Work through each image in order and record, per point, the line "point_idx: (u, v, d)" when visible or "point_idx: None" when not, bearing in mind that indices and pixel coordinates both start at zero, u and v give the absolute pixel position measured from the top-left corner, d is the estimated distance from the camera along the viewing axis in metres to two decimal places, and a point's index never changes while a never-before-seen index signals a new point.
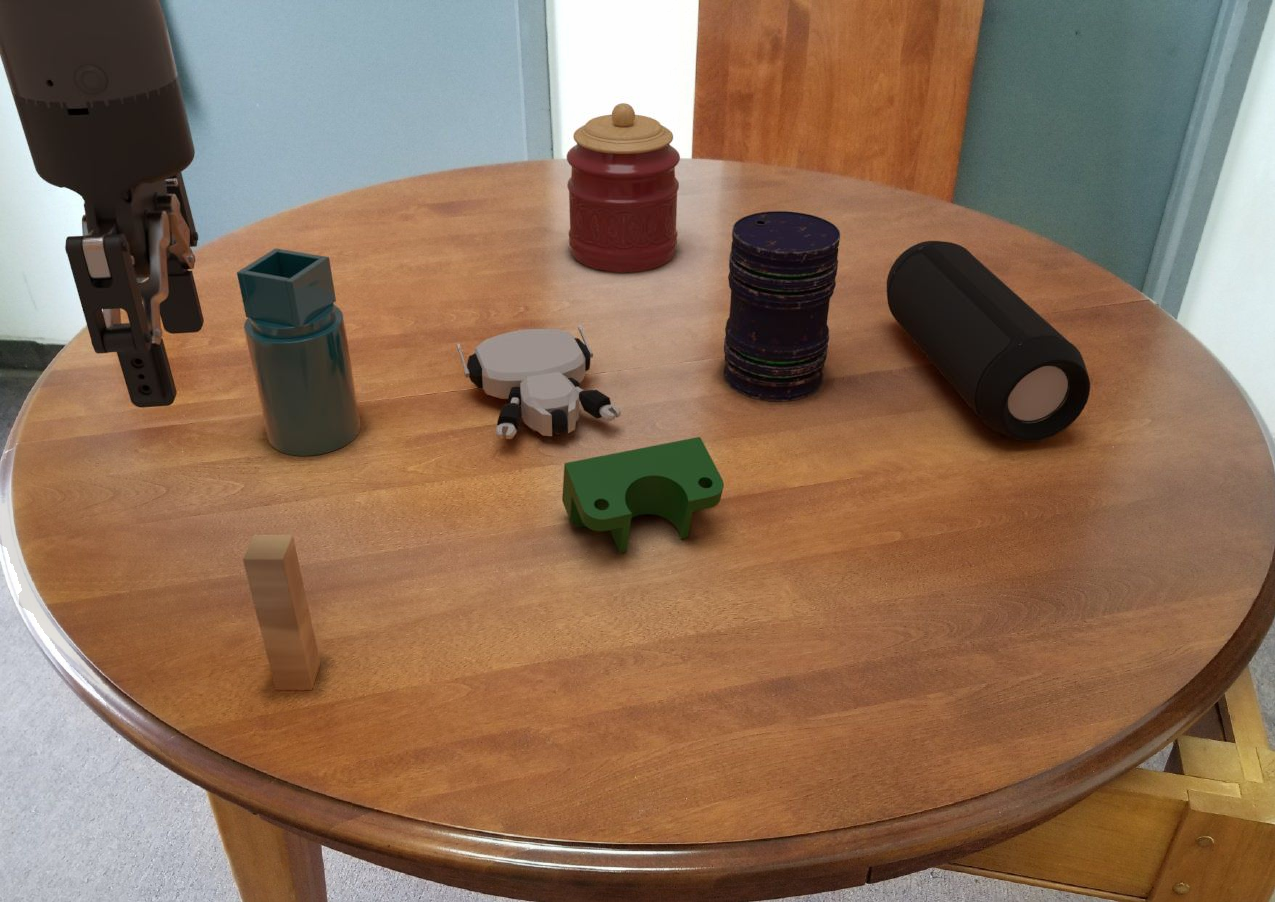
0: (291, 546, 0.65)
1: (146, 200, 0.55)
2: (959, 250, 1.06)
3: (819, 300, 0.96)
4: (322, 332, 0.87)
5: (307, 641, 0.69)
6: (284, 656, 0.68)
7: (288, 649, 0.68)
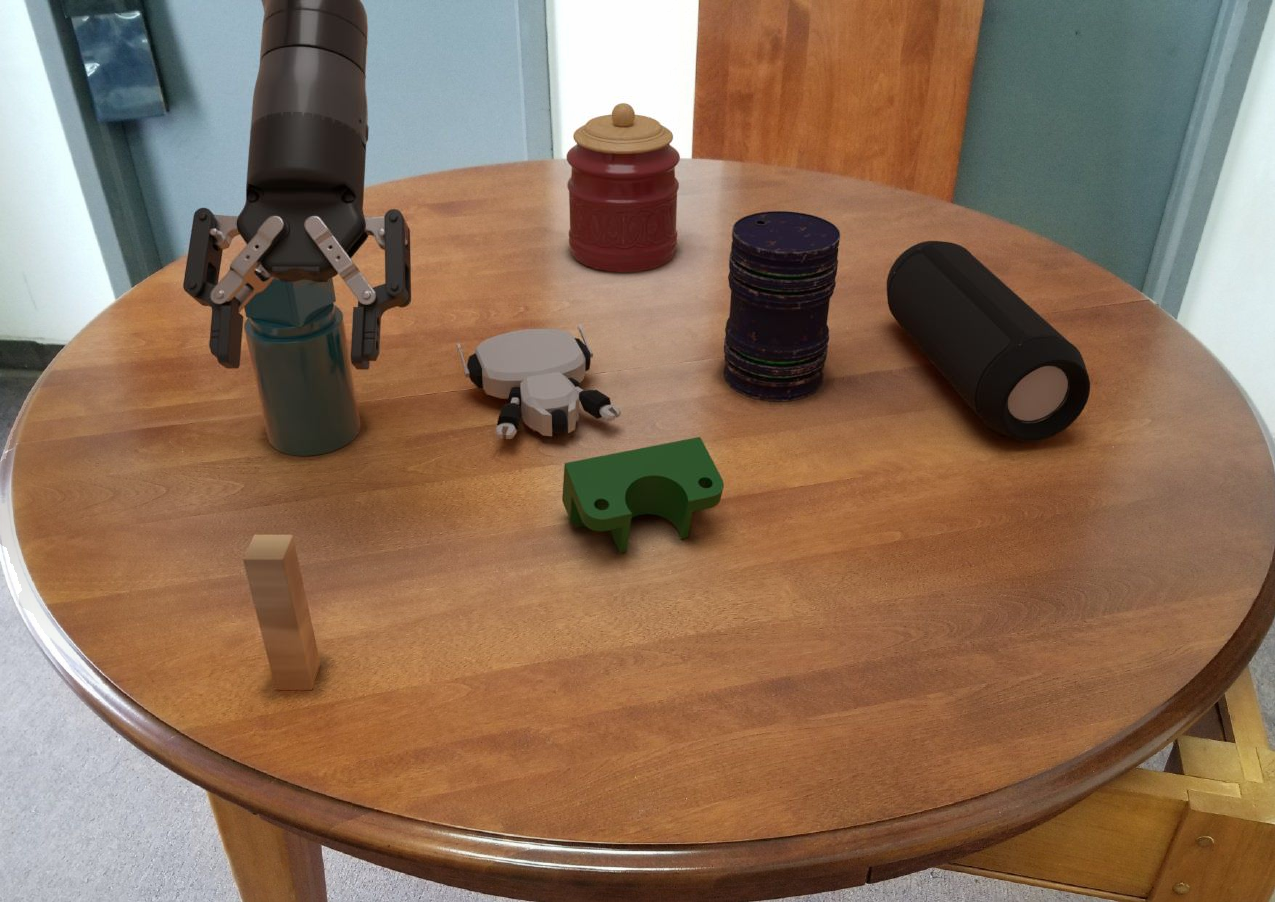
0: (291, 546, 0.65)
1: None
2: (959, 250, 1.06)
3: (819, 300, 0.96)
4: (322, 332, 0.87)
5: (307, 641, 0.69)
6: (284, 656, 0.68)
7: (288, 649, 0.68)
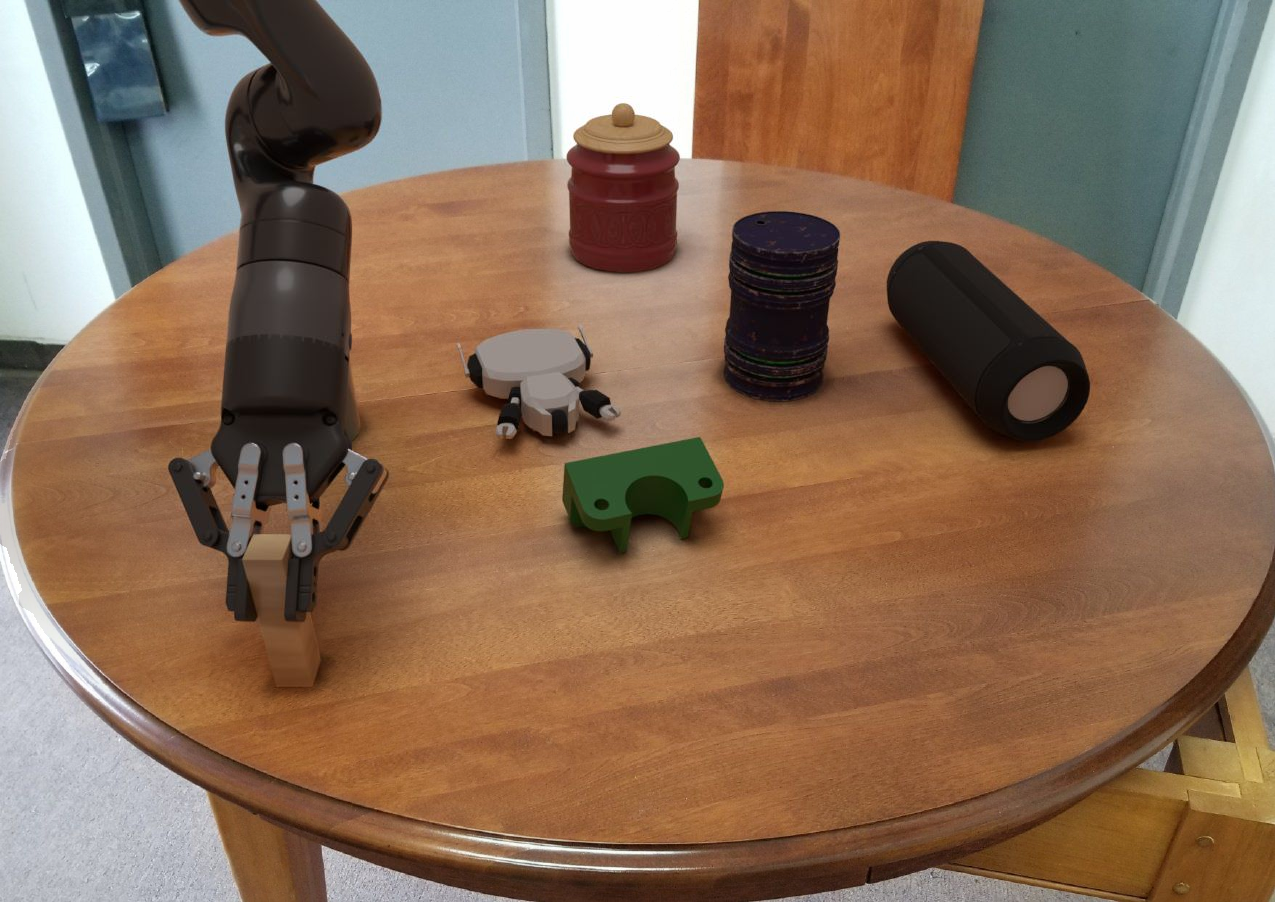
0: (290, 545, 0.65)
1: None
2: (959, 250, 1.06)
3: (819, 300, 0.96)
4: None
5: (307, 639, 0.69)
6: (284, 654, 0.68)
7: (289, 647, 0.68)
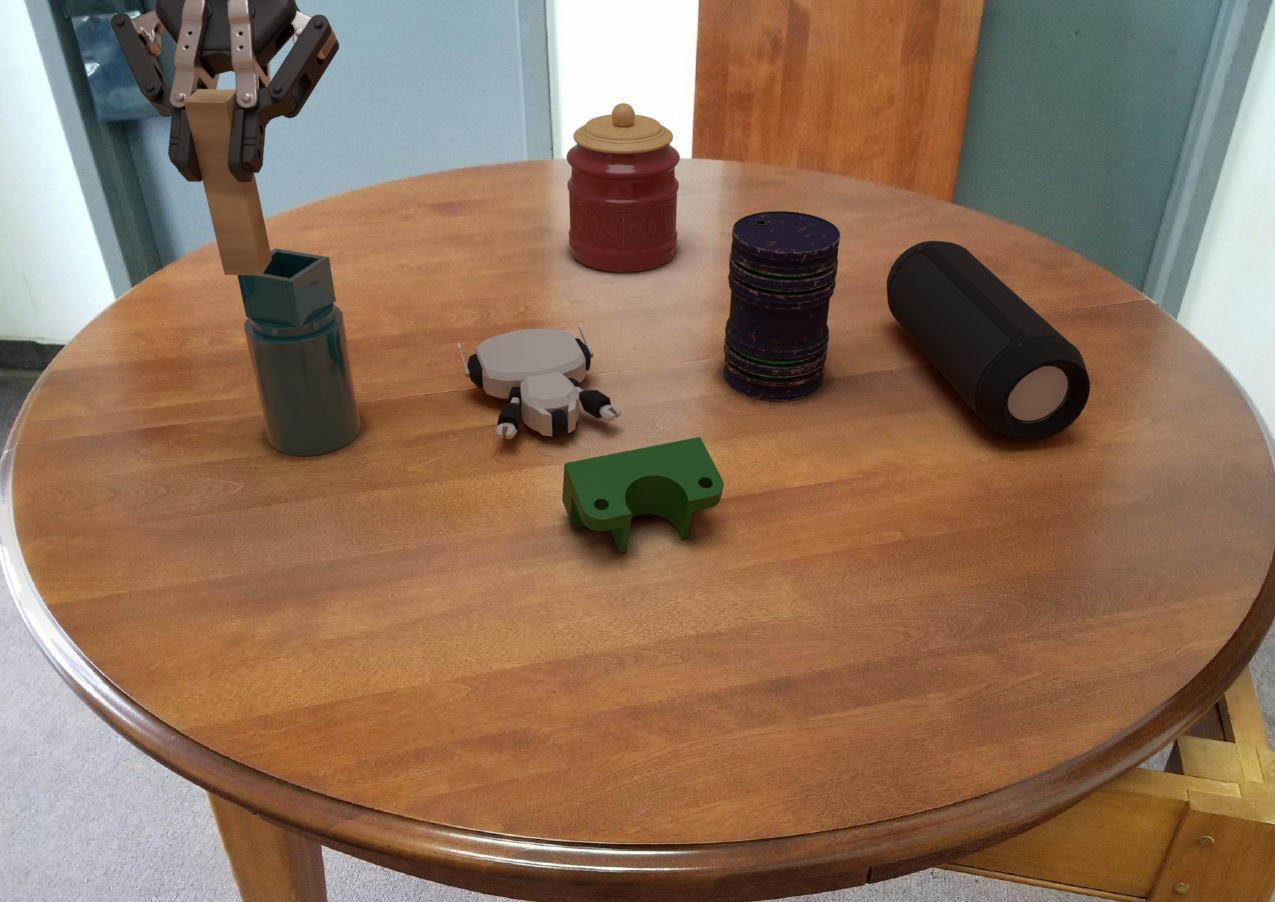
0: (235, 99, 0.63)
1: None
2: (959, 250, 1.06)
3: (819, 300, 0.96)
4: (322, 332, 0.87)
5: (255, 218, 0.67)
6: (231, 230, 0.66)
7: (236, 221, 0.66)
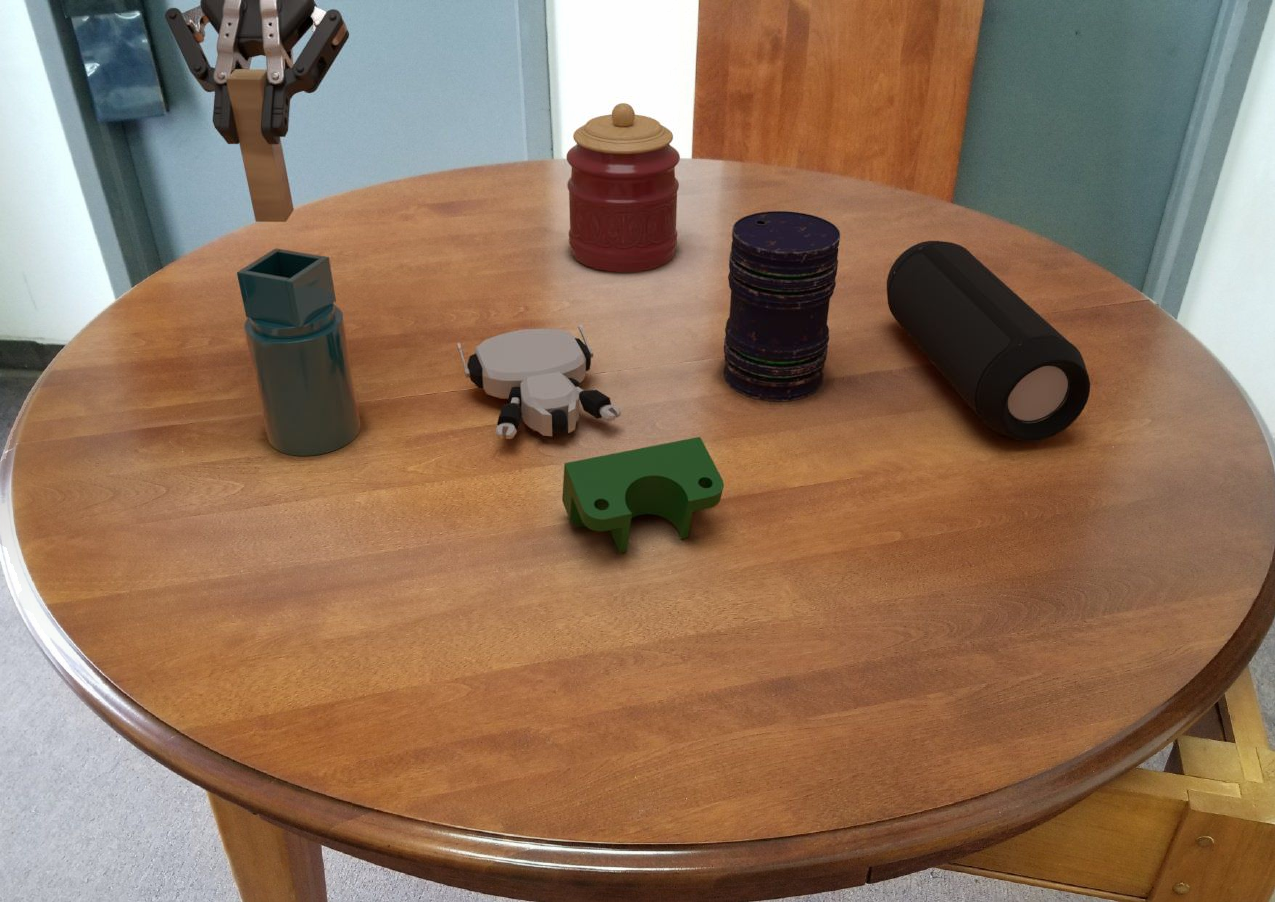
0: (266, 77, 0.79)
1: None
2: (959, 250, 1.06)
3: (819, 300, 0.96)
4: (322, 332, 0.87)
5: (281, 175, 0.82)
6: (262, 184, 0.82)
7: (265, 177, 0.81)
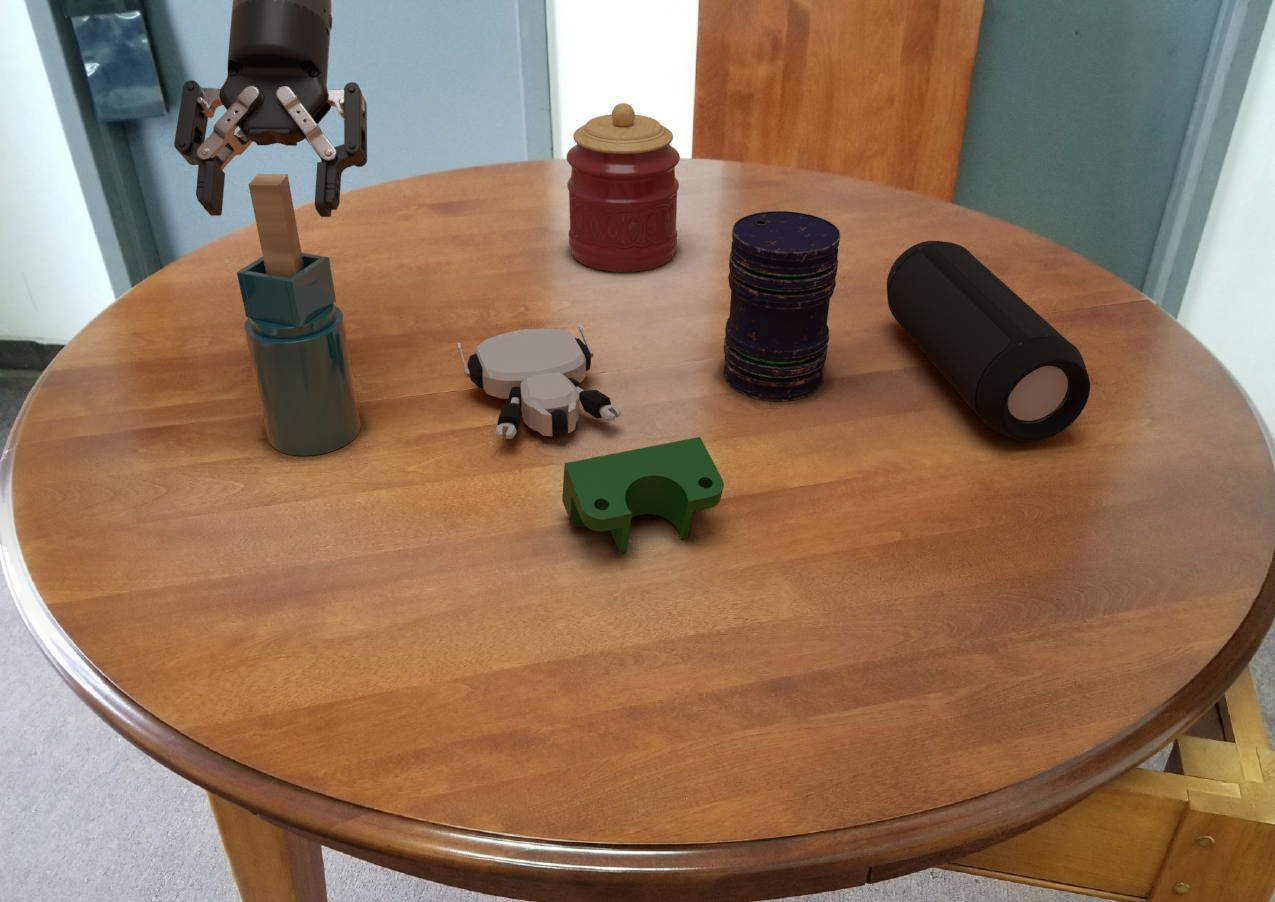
0: (286, 181, 0.84)
1: None
2: (959, 250, 1.06)
3: (819, 300, 0.96)
4: (322, 332, 0.87)
5: (299, 270, 0.87)
6: None
7: (284, 273, 0.86)
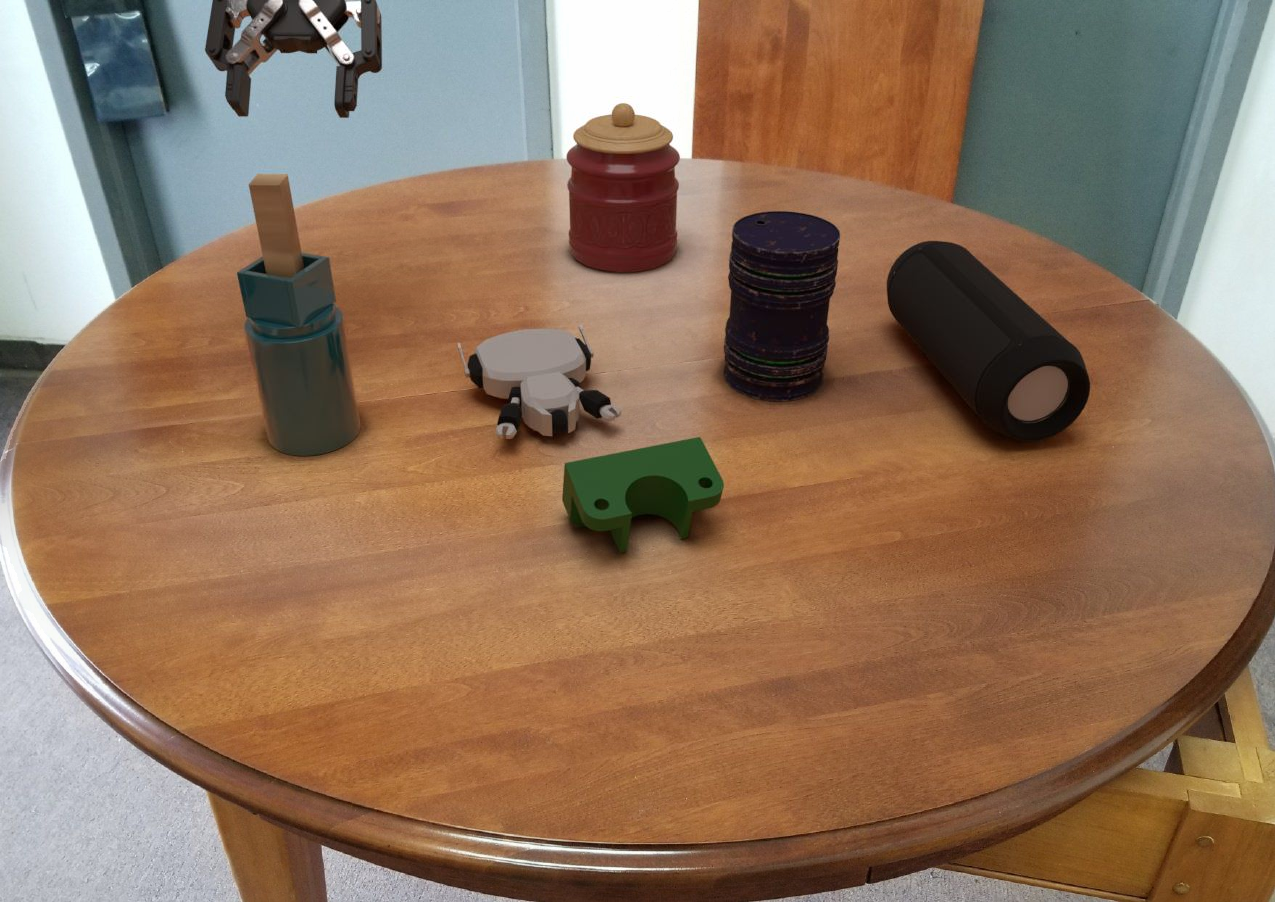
0: (286, 181, 0.84)
1: None
2: (959, 250, 1.06)
3: (819, 300, 0.96)
4: (322, 332, 0.87)
5: (299, 270, 0.87)
6: None
7: (284, 273, 0.86)
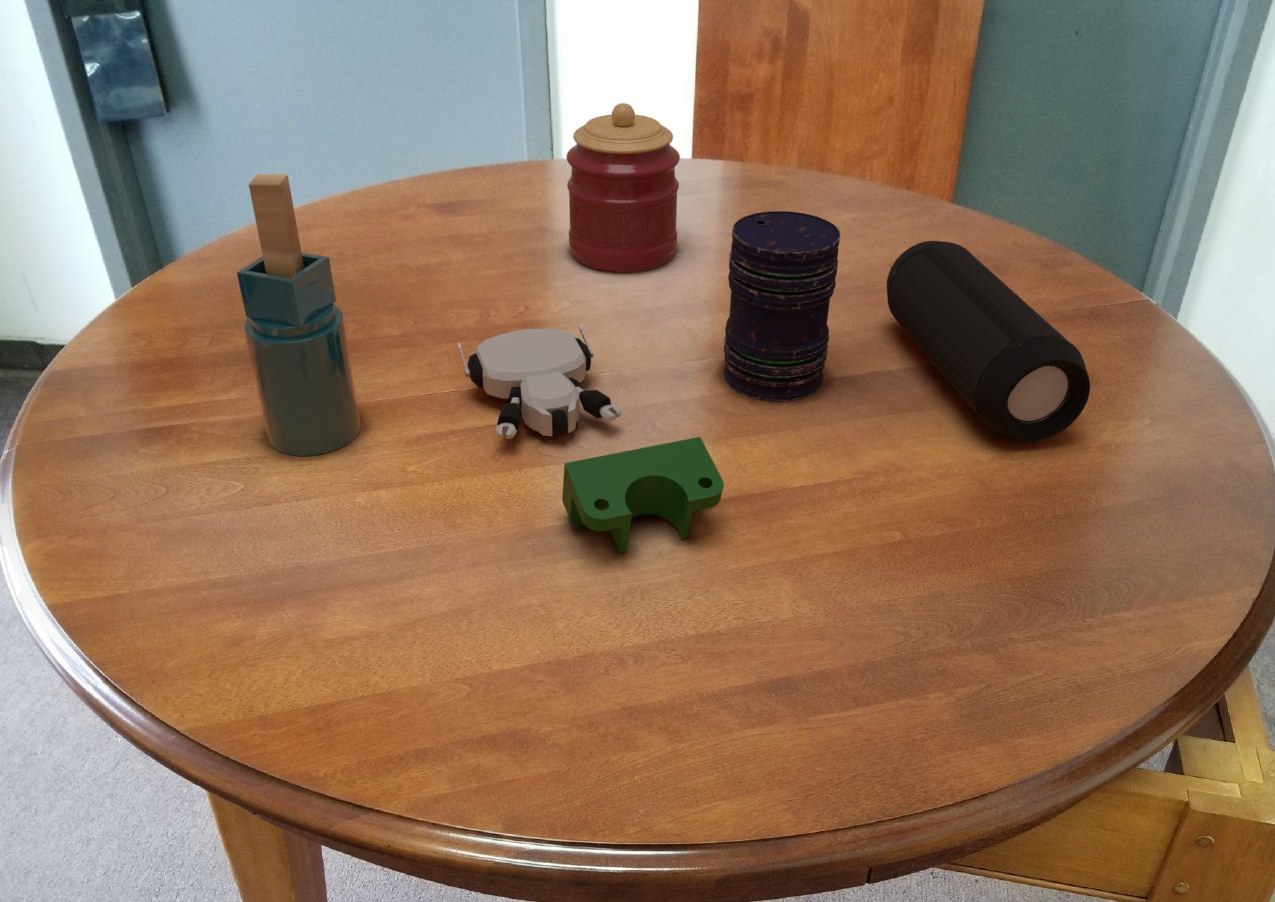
0: (286, 181, 0.84)
1: None
2: (959, 250, 1.06)
3: (819, 300, 0.96)
4: (322, 332, 0.87)
5: (299, 270, 0.87)
6: None
7: (284, 273, 0.86)
